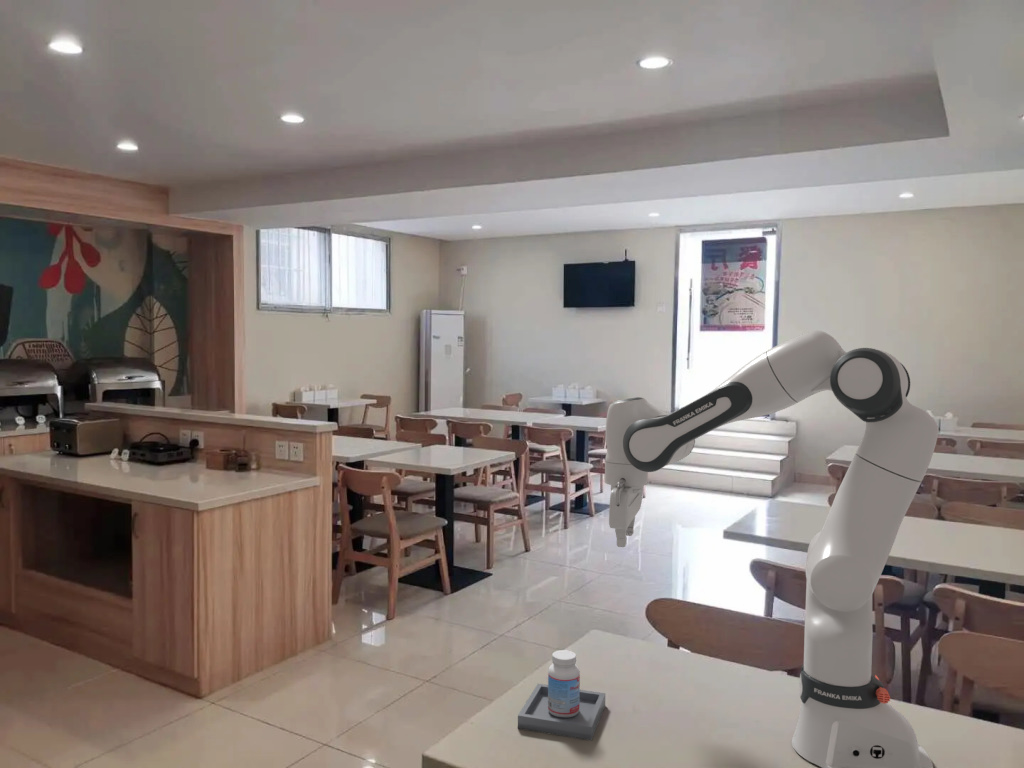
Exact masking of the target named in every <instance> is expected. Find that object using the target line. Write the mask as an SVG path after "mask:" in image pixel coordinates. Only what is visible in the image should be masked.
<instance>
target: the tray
mask: <svg viewBox="0 0 1024 768" xmlns="http://www.w3.org/2000/svg"><path fill="white" fill-rule="evenodd" d="M605 707H606V692H599V691H593V690H586V689H585V690H584V689H580V700H579V712H578V714H577V715H575V716H573V717H570V718H563V717H556V716H554V715H552V714H551V713H550V712H549V711H548V684H543V683H537V684H536V686H535V687H534V689H533V691H532V692H531V694H530V695H529V697H528V698H527V700H526V702H525V704H524V705H523V706H522V708H521V710H520V711H519V714H517V715H518V716H517V729H518V730H526V731H532V732H537V733H543V734H544V733H545V734H550V735H556V736H561V737H568V738H573V739H574V738H575V739H579V740H587V741H592V740H593V738H594V734H595V733H596V730H597V727H598V725H599V722H600V720H601V717H602V716H603V715H602V714H603V712H604V709H605Z"/></svg>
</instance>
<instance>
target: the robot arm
mask: <svg viewBox="0 0 1024 768" xmlns="http://www.w3.org/2000/svg"><path fill="white" fill-rule="evenodd" d="M910 389H911V379H910V375H909V372H908V370H907V369H906V367H905V365H904V364H902V362H901V361H899V360H898V359H897V358H896V357H895V356H894V355H893V354H891V353H889V352H887V351H883V350H880V349H876V348H872V347H858V348H855V349H852V350H849V351H847V352H846V350H844V349H843V348H842V346H841V345H840V343H839V342H838V341H837V339H835V338H834V337H833V336H832V335H831V334H829V333H827V332H824V331H822V330H812V331H808V332H806V333H802V334H801V335H798V336H795V337H793V338H790V339H788V340H786V341H783V342H781V343H780V344H777V345H775V346H773V347H772V348H770V349H768V350H767V351H764V352H762V353H761V354H759V355H758V356H756V357H755V358H753V359H752V360H750V361H749V362H747V363H745V365H744V366H742V367H741V368H739V369H738V370H737V371H736V372H734V373H733V374H732V375H731V376H729V377H728V378H727V379H726V380H724V381H723V382H722V383H720V384H719V385H718V386H716V387H715V388H714V389H712V390H711V391H709V392H708V393H706V394H705V395H703V396H701V397H699V398H697V399H696V400H694V401H692V402H690V403H688V404H686V405H684V406H682V407H681V408H678V409H677V410H676V411H673V412H671V413H668V412H667V411H666V412H665V411H663V410H662V409H659V408H658V407H656V406H654V405H653V404H651V403H650V402H649V401H648V400H647V399H646V398H644V397H642V396H641V397H639V396H638V397H636V396H635V397H630V398H622V399H618V400H614V401H612V402H611V403H610V405H609V406H608V408H607V413H606V419H605V421H606V422H605V437H604V438H605V439H604V441H605V444H606V455H605V459H604V483H605V484H607V485H610V497H609V508H608V509H609V511H608V514H609V516H608V525H609V528H610V529H613V530H615V532H614V533H615V537H616V546H617V547H618V548H625V547H626V546H627V544H628V543H627V540H628V539H627V537H628V536H629V537H632V536H633V535H634V531H635V530H634V529H635V528H634V527H635V523H636V522H635V520H636V515H638V513H639V512H640V510H641V507H642V502H643V494H644V486H646V485H648V483H649V482H648V481H649V480H648V477H649V476H648V475H649V474H648V473H652V472H653V473H654V472H656V471H658V470H661V469H663V468H664V467H666V466H668V465H671V464H674V463H677V462H679V461H681V460H683V459H685V458H687V456H689V455H690V454H691V453H692V451H693V449H694V447H695V443H696V440H697V439H699V438H700V437H702V436H704V435H706V434H708V433H710V432H712V431H713V430H715V429H718V428H720V427H722V426H725V425H728V424H731V423H734V422H739V421H742V420H743V421H744V420H748V419H749V420H750V419H754V418H759V417H763V416H768V415H771V414H774V413H777V412H780V411H783V410H785V409H787V408H790V407H792V406H794V405H797V404H798V403H800V402H802V401H803V400H805V399H807V398H810V397H811V396H813V395H815V394H818V393H821V392H825V391H831V392H832V393H833V395H834V397H835V398H836V400H837V401H838V402H839V403H840V404H841V405H842V406H844V407H845V408H846V409H847V410H849V411H850V412H852V413H853V414H854V415H855V416H856V417H858V418H859V419H860V420H861V421H863V422H864V423H865V431H864V434H863V437H862V439H861V442H860V443H859V445H858V448H857V449H856V452H855V453H854V456H853V458H852V459H851V462H850V464H849V466H848V468H847V471H846V472H845V475H844V477H843V479H842V481H841V483H840V485H839V488H838V489H837V492H836V493H835V497H834V499H833V502H832V504H831V506H830V509H829V511H828V514H827V516H826V519H825V521H824V524H823V525H822V529H821V530H820V531H819V532H817V533H816V534H815V535H814V536H813V537H812V538H811V540H810V542H809V544H808V546H807V552H806V553H807V555H806V566H805V578H806V582H805V583H806V585H805V586H806V589H805V613H804V614H805V615H804V634H803V635H804V637H803V638H804V641H803V643H804V644H803V645H804V646H803V664H802V666H801V669H800V673H799V697H800V701H801V702H800V707H799V714H798V720H797V723H796V727H795V730H794V733H793V736H792V737H791V745H792V747H793V749H794V751H795V752H796V753H797V754H798V755H800V756H801V757H802V758H804V759H805V760H806V761H808V762H809V763H812V764H813V765H816V766H817V767H820V768H934V765H933V762H932V759H931V757H930V756H929V754H928V752H927V750H925V748H924V747H923V746H921V745H920V744H919V743H918V742H919V741H918V739H917V735H916V732H915V730H914V728H913V726H912V724H911V723H910V722H909V720H908V719H907V717H905V715H903V714H902V713H901V712H900V711H898V709H896V708H895V707H894V706H892V705H891V704H890V703H889V702H890V701H891V696H890V694H889V691H888V690H887V688H884V684H883V682H882V681H880V677H878V676H877V674H875V675H873V674H872V666H873V665H872V660H873V659H872V658H873V657H872V656H873V631H874V630H873V594H874V591H875V589H876V587H877V584H878V582H879V580H880V577H881V576H882V573H883V571H884V568H885V566H886V564H887V561H888V559H889V556H890V554H891V551H892V549H893V545H894V543H895V541H896V538H897V534H898V532H899V529H900V527H901V524H902V522H903V520H904V518H905V515H907V512H908V510H909V508H910V506H911V503H912V502H913V500H914V498H915V496H916V493H917V491H918V490H919V488H920V486H921V484H922V481H923V480H924V478H925V476H926V473H927V471H928V468H929V466H930V464H931V462H932V461H931V460H932V458H933V455H934V452H935V449H936V448H935V447H936V445H937V442H938V437H939V426H938V422H936V420H935V419H934V418H933V416H932V415H930V414H929V413H928V412H927V411H925V410H924V409H922V408H920V407H917V406H915V405H913V404H912V403H911V402H909V400H908V395H909V393H910V391H911V390H910Z"/></svg>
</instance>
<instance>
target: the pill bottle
mask: <svg viewBox="0 0 1024 768" xmlns="http://www.w3.org/2000/svg"><path fill="white" fill-rule="evenodd" d="M551 655H552V658H551V660H552V661H551V662H552V664H550V666H549V667H548V673H547V675H548V677H547V679H548V681H547V685H548V711H549V712H550V713H551V714H552V715H554V716H556V717H563V718H570V717H573V716H575V715H577V714H578V712H579V700H580V690H581V689H580V686H581V685H580V684H581V681H580V678H581V675H580V673H581V672H580V668H579V667H578V665H576V664H577V655H576V653H575V652H574V651H570V650H566V649H561V650H559V649H558V650H555V651H554V652H552V654H551Z"/></svg>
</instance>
